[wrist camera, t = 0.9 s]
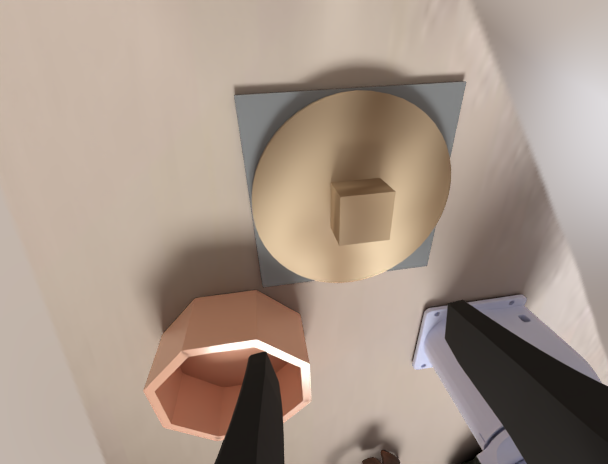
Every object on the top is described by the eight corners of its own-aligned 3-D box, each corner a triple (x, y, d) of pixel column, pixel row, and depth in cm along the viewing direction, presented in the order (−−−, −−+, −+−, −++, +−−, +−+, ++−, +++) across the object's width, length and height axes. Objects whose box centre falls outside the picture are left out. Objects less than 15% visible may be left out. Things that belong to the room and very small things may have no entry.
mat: (463, 81, 16) (466, 81, 16) (425, 263, 22) (427, 265, 22) (234, 95, 15) (234, 95, 15) (262, 284, 21) (262, 287, 21)
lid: (463, 83, 16) (504, 87, 13) (425, 264, 22) (448, 290, 20) (236, 97, 15) (232, 103, 12) (263, 286, 21) (265, 317, 18)
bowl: (298, 284, 22) (307, 331, 18) (304, 372, 27) (312, 423, 23) (149, 303, 20) (125, 359, 17) (186, 391, 26) (175, 448, 22)
